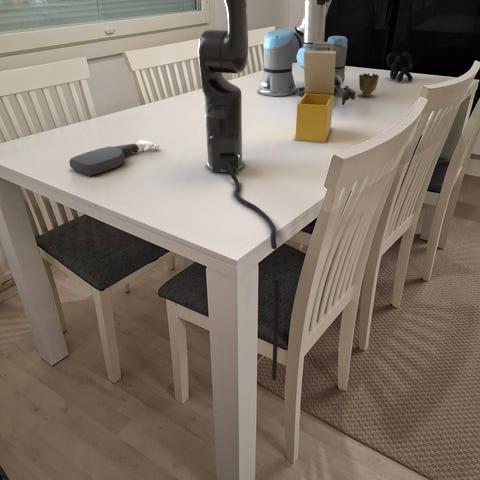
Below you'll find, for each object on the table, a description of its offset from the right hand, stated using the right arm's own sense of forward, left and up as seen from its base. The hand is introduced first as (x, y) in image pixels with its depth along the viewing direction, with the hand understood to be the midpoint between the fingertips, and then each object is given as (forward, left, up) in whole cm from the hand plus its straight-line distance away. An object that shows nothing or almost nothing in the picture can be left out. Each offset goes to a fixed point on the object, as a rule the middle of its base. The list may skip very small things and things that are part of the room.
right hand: (322, 99), depth 152 cm
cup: (-24, +26, -6) cm, 35 cm away
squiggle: (-47, +51, -6) cm, 69 cm away
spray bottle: (+27, -67, -6) cm, 73 cm away
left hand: (+17, -8, +30) cm, 35 cm away
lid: (+14, -6, +11) cm, 19 cm away
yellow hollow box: (+17, -8, -6) cm, 19 cm away
